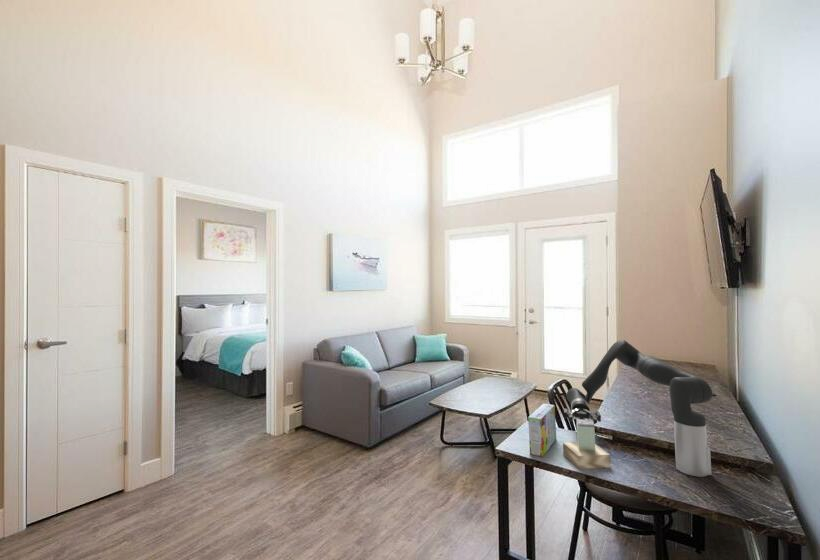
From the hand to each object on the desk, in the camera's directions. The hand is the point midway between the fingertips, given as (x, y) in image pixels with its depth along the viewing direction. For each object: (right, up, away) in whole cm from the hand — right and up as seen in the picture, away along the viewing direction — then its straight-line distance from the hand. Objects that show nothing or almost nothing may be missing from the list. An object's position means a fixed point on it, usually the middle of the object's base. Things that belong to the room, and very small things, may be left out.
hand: (583, 420), depth 151 cm
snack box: (-15, -13, +4) cm, 20 cm away
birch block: (-4, -12, -10) cm, 16 cm away
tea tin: (-3, -7, -10) cm, 12 cm away
